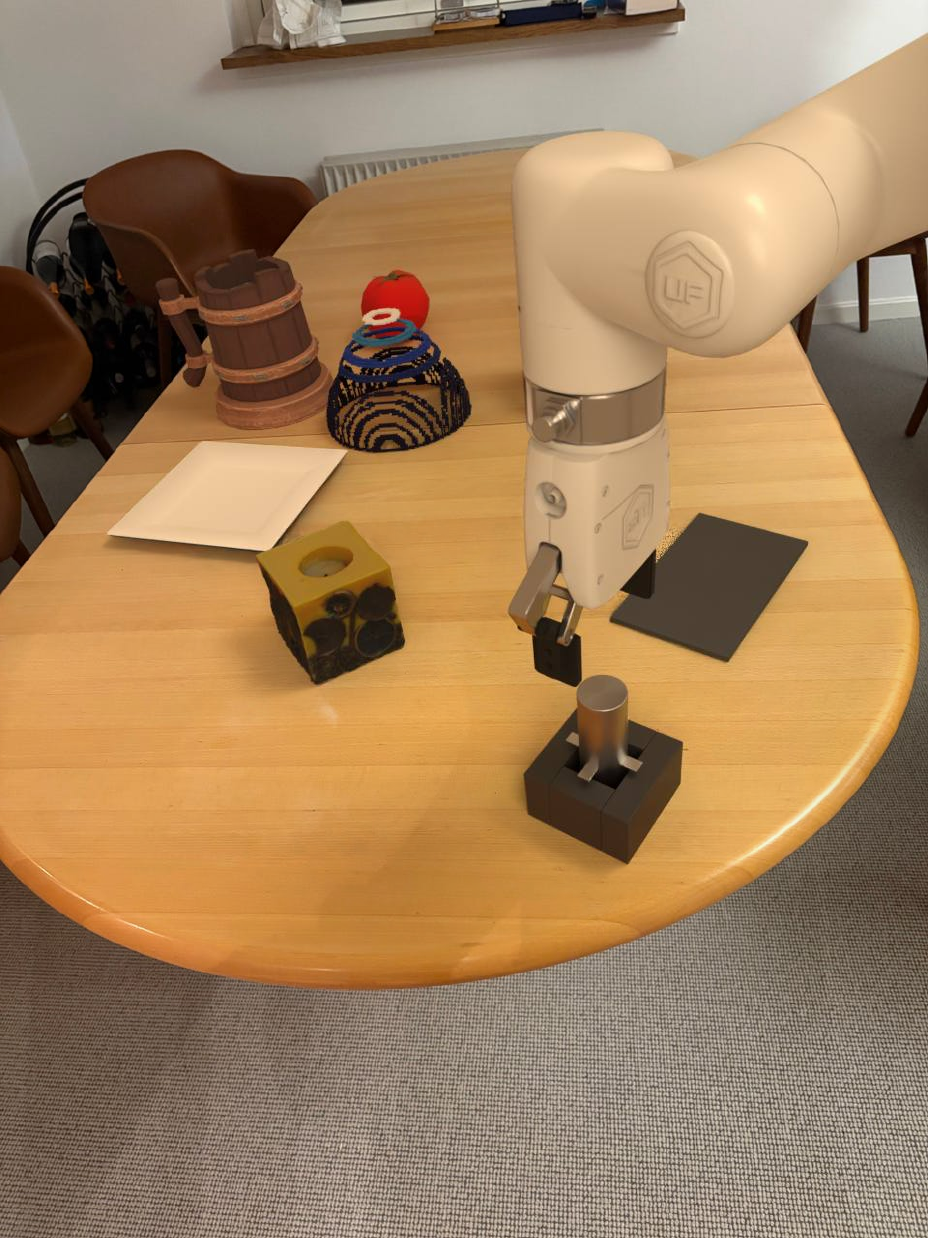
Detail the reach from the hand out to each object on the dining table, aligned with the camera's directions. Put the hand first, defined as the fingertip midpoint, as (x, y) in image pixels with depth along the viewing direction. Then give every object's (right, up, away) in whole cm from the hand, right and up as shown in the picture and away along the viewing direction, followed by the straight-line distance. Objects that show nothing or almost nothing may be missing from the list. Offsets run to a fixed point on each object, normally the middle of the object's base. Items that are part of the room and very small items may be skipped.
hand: (596, 632), depth 58 cm
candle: (-21, -1, +30) cm, 36 cm away
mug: (-39, +34, +74) cm, 91 cm away
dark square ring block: (+2, -13, +11) cm, 18 cm away
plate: (-37, +15, +53) cm, 66 cm away
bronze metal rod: (+2, -13, +11) cm, 18 cm away
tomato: (-19, +48, +87) cm, 101 cm away
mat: (+16, +5, +30) cm, 34 cm away
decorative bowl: (-18, +29, +65) cm, 74 cm away
